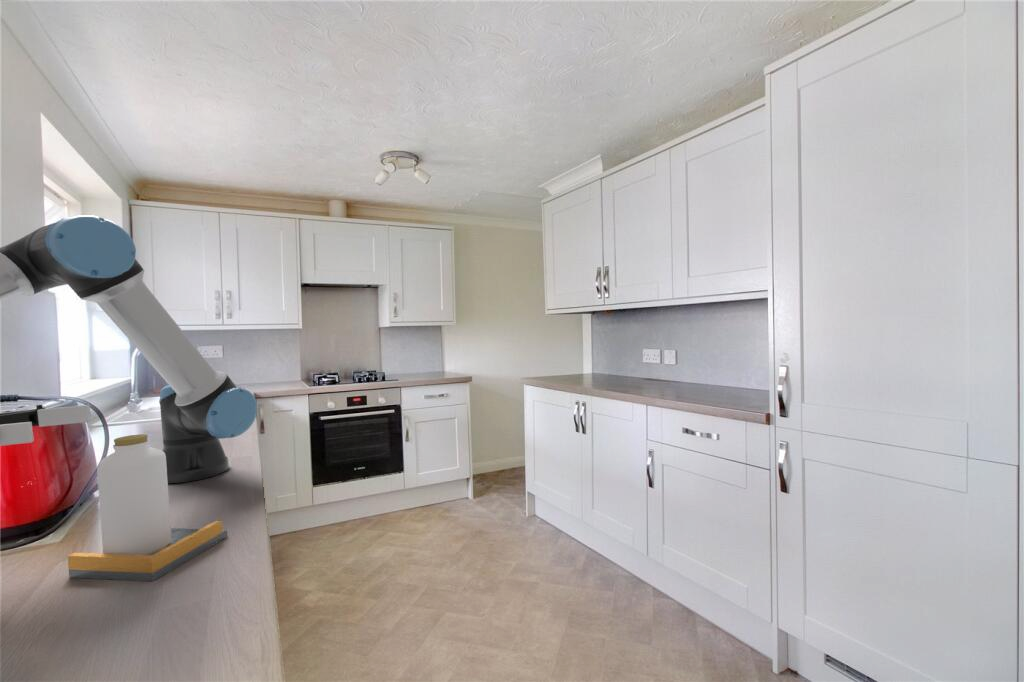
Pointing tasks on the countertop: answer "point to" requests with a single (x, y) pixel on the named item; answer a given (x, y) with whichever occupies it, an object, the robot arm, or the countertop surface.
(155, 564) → the plate
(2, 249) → the robot arm
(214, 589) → the countertop surface
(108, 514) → the white bottle
